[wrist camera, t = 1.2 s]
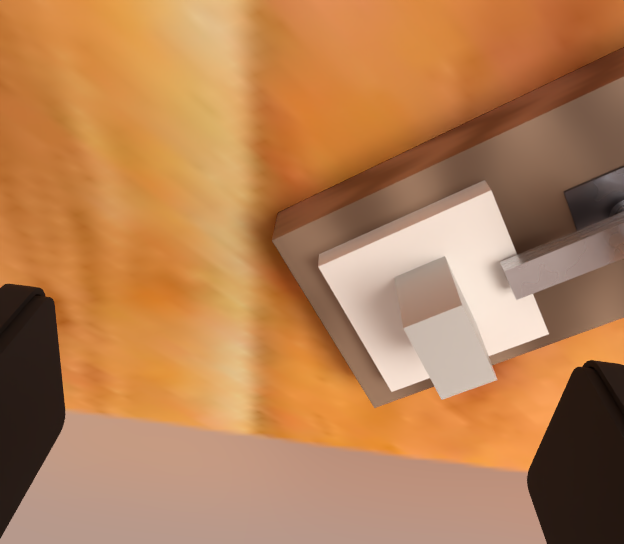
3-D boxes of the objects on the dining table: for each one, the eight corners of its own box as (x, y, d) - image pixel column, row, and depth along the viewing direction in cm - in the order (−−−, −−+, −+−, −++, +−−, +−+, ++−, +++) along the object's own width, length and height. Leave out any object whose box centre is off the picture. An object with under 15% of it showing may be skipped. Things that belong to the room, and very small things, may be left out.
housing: (673, 23, 31) (718, 34, 27) (719, 237, 37) (762, 269, 33) (278, 212, 37) (271, 242, 33) (371, 370, 43) (374, 410, 39)
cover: (484, 179, 31) (517, 231, 26) (541, 319, 36) (580, 390, 30) (318, 254, 34) (315, 316, 28) (389, 376, 38) (399, 452, 32)
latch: (632, 138, 29) (723, 198, 23) (666, 264, 33) (755, 349, 26) (475, 207, 32) (514, 281, 25) (522, 319, 35) (568, 411, 28)
